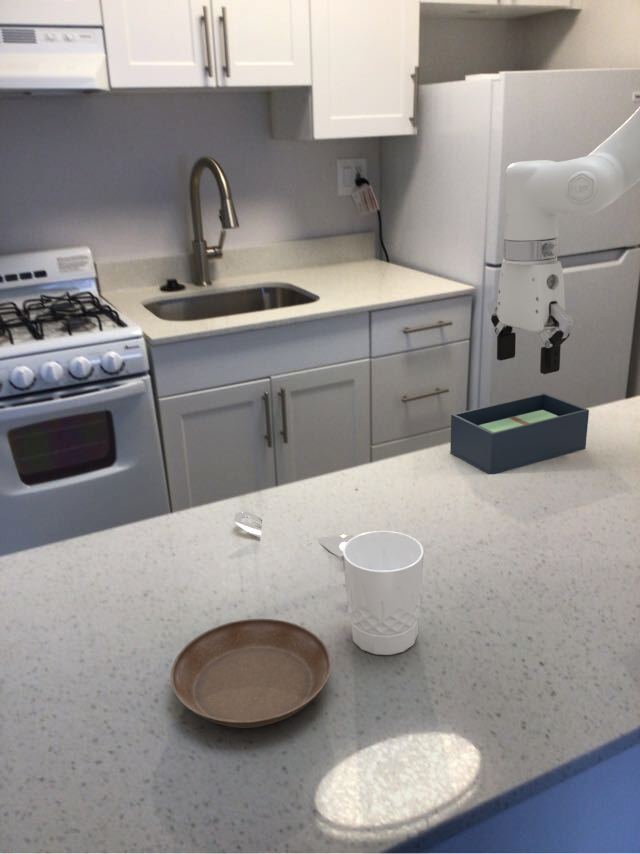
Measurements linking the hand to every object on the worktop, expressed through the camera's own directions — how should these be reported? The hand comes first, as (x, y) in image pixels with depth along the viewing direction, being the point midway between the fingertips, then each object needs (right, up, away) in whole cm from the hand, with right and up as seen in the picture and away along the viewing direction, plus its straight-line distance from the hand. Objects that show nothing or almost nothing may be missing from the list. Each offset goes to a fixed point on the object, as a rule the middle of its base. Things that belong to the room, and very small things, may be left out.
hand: (527, 365), depth 115 cm
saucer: (-38, -34, -44) cm, 67 cm away
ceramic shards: (-34, -25, -20) cm, 46 cm away
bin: (0, -13, +5) cm, 14 cm away
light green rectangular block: (0, -13, +5) cm, 14 cm away
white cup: (-25, -31, -37) cm, 55 cm away
